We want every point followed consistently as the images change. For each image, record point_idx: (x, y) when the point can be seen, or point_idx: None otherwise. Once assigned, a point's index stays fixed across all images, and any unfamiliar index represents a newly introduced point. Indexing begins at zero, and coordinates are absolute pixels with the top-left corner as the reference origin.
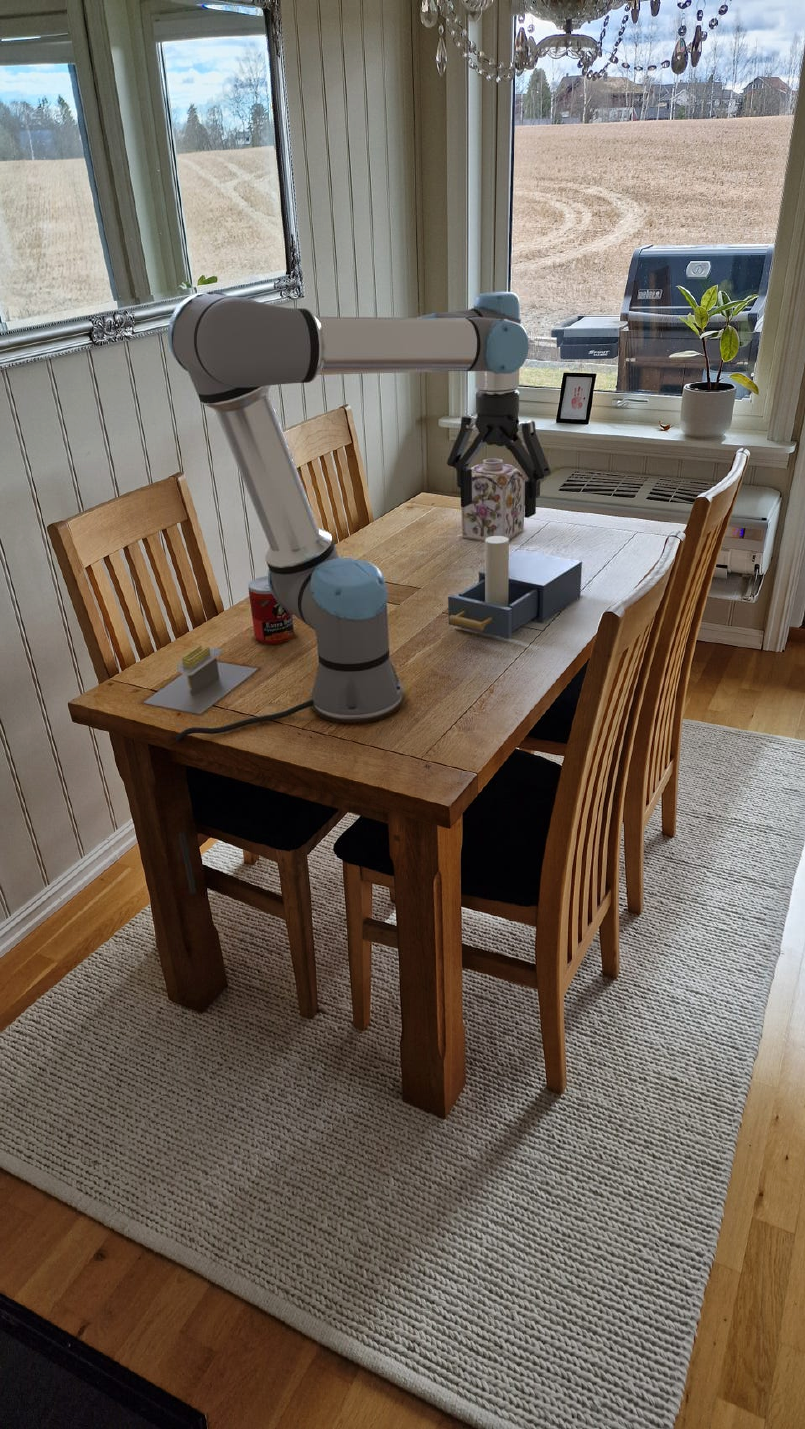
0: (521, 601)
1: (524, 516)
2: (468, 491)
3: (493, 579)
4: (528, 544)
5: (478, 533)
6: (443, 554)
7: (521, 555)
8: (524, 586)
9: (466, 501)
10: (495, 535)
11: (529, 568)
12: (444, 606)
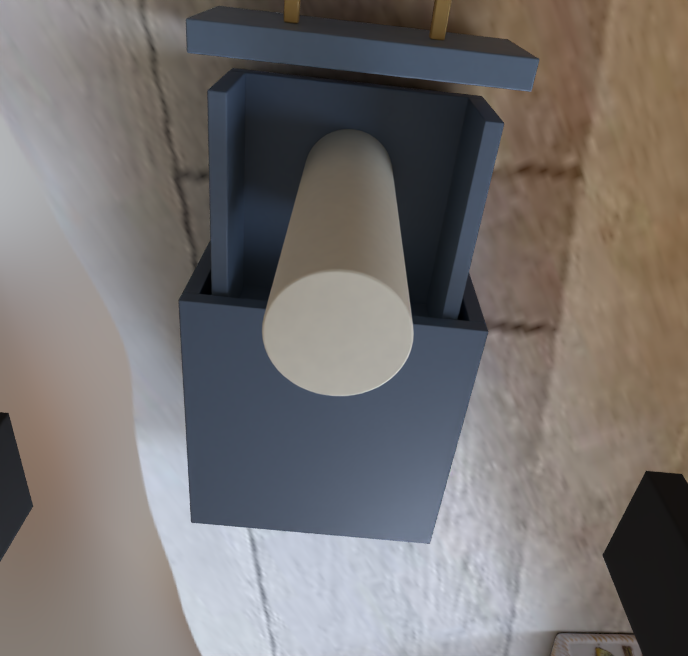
0: (210, 169)
1: (4, 418)
2: (673, 636)
3: (334, 184)
4: (495, 643)
5: (639, 652)
6: None
7: (399, 507)
8: None
9: (649, 532)
10: (588, 652)
11: (317, 424)
12: (591, 226)
